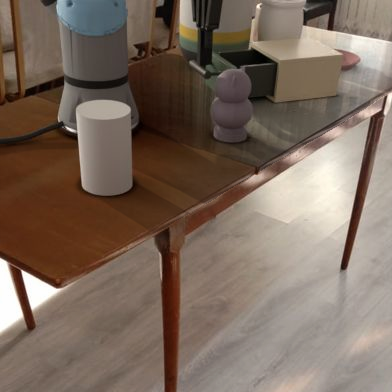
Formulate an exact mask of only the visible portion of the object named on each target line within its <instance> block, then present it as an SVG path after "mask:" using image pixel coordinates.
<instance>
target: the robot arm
mask: <svg viewBox="0 0 392 392" xmlns="http://www.w3.org/2000/svg"><path fill="white" fill-rule="evenodd" d="M39 1H40V3H41V4H42V5H43V6H44V7H45V9H46V10H47V12H49V14H50V15H51V16H52V18H53V19H54V20H55V21H56V22H57V24H58V26H59V27H58V28H59V35H60V47H61V59H62V69H63V79H64V80H63V81H64V86H63V90H62V94H61V99H60V104H59V108H58V113H57V121H58V122H55V123H52V124H49V125H46V126H44V127H41V128H39V129H36V130H34V131H32V132H29V133H26V134H21V135H16V136H11V137H1V138H0V145H6V144H13V143H14V144H15V143H21V142H25V141H29V140H32V139H35V138H37V137H40V136H42V135H44V134H46V133H49V132H52V131H55V130H57V129H59V130H60V132H62V133H64V134H65V135H67V136H69V137H72V138H75V139H78V130H77V118H76V108H77V106H78V105H80V104H82V103H84V102H88V101H93V100H113V101H118V102H122V103H124V104H126V105H128V106H129V107H130V109H131V135H133V134H134V133H136V132H137V131H138V130H139V128H140V115H139V111H138V107H137V104H136V102H135V99H134V96H133V92H132V90H131V86H130V83H129V53H128V52H129V49H128V47H129V46H128V45H129V44H128V16H129V8H128V5H127V0H39ZM222 3H223V0H191V4H192V18H193V22H196V27H197V28H198V38H197V64H199V65H208V64H212V46H213V30H215V29H219V24H220V17H221V10H222Z"/></svg>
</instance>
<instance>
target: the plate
mask: <svg viewBox="0 0 392 392" xmlns="http://www.w3.org/2000/svg"><path fill="white" fill-rule="evenodd" d="M333 49H334V50H336V51H338V52H340V53H342V54H344V56H343V62H342V67H341V72H344V71H350V70H351V69H352V68H354V67H355V66H357V65H358V64H359V63H360V62H361V61H362V58H361V57H360V55H358V54H356V53H354V52H351V51H348V50H345V49H344V50H343V49H339V48H333Z"/></svg>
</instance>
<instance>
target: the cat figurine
mask: <svg viewBox="0 0 392 392" xmlns="http://www.w3.org/2000/svg"><path fill="white" fill-rule="evenodd" d="M214 92H215V94H216V95H215V96H216V98H215V99H214V100H213V101H212V103H211V106H210V116H211V118H212V120H213V122H214V123H215V124H216V125H214V127H213V137H214V138H215V139H216V140H218V141H221V142H223V143H233V144H234V143H241V142H244V141H245V140H247V137H248V128H247V127H246V125H247V124H248V123H249V122H250V121H251V120H252V117H253V113H254V112H253V111H254V107H253V105H252V102H251V101H250V99H249V98H248V96H249V94H250V92H251V81H250V79H249V77H248V76H247V74H246V73H245V66H243V67H242V68H240V69H228V70H225V71H224V72H222V73H221V74H220V75H219V76H218V77H217V79H216V83H215V91H214Z"/></svg>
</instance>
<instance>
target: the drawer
mask: <svg viewBox="0 0 392 392" xmlns="http://www.w3.org/2000/svg"><path fill="white" fill-rule="evenodd" d="M243 66H245V73H246V74H247V76H248V77H249V79H250V81H251V92H250V94H249V96H248V98H247V99H249V98H258V97H266V96H267V95H274V91H275V83H276V75H277V67H278V63H277V62H275V61H274V60H272V59H270V58H269V57H267V56H266V55H264V54H262V53H261V52H259V51H257V50H256V49H247V50H235V51H223V52H219V53H218V54H216V53H215V52H213V51H212V64H208V65H206V68H205V67H203V66H202V65H199V64H197V62H196V61H195V60H191V61H190V62H188V67H189V68H191V69H192V70H193V71H195V72H196V73H197V74H199V75H200V77H202V78H204V84H205V85H206V86H207V87H209V88H210V89H211V90H213V91H214V92H215V83H216V79H217V77H218V76H219V75H220V74H221V73H222V72H224V71H225V70H228V69H240V68H242V67H243Z"/></svg>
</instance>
